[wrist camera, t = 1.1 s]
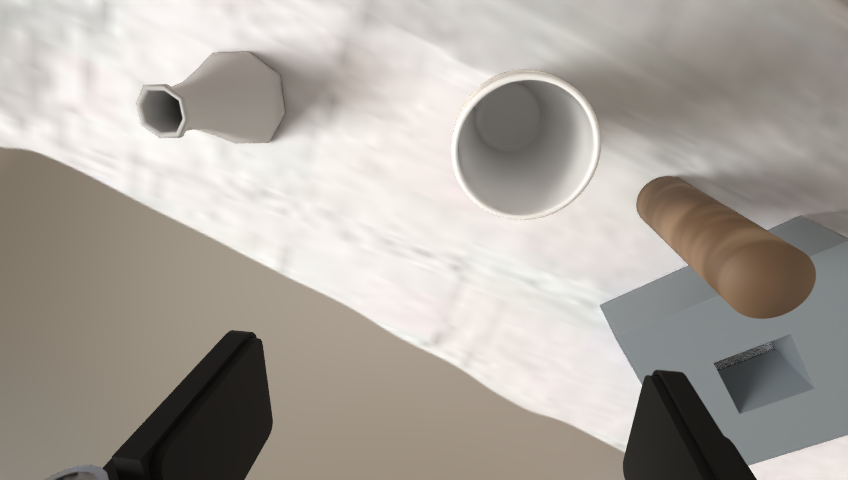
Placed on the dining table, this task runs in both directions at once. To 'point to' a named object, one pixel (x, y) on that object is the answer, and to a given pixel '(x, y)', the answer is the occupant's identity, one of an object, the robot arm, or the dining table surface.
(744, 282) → the walnut peg
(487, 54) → the dining table surface
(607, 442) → the dining table surface
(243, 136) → the flask
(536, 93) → the drinking glass
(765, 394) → the socket block
